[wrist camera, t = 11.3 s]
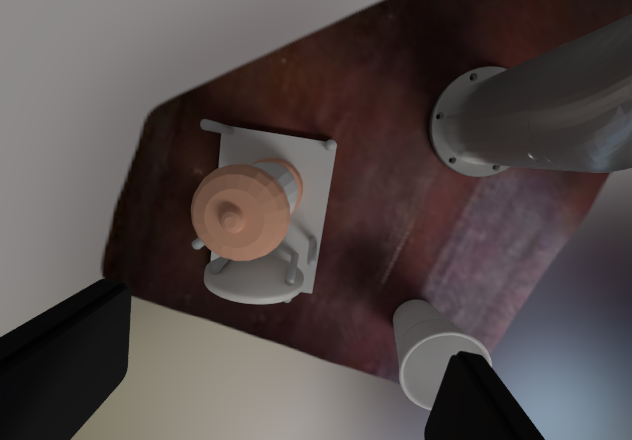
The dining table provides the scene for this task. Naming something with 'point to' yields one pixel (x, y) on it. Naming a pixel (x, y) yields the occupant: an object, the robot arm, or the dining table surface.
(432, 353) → the cup
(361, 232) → the dining table surface
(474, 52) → the dining table surface
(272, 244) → the salt shaker
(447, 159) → the robot arm
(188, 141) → the dining table surface
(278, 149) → the dish rack
